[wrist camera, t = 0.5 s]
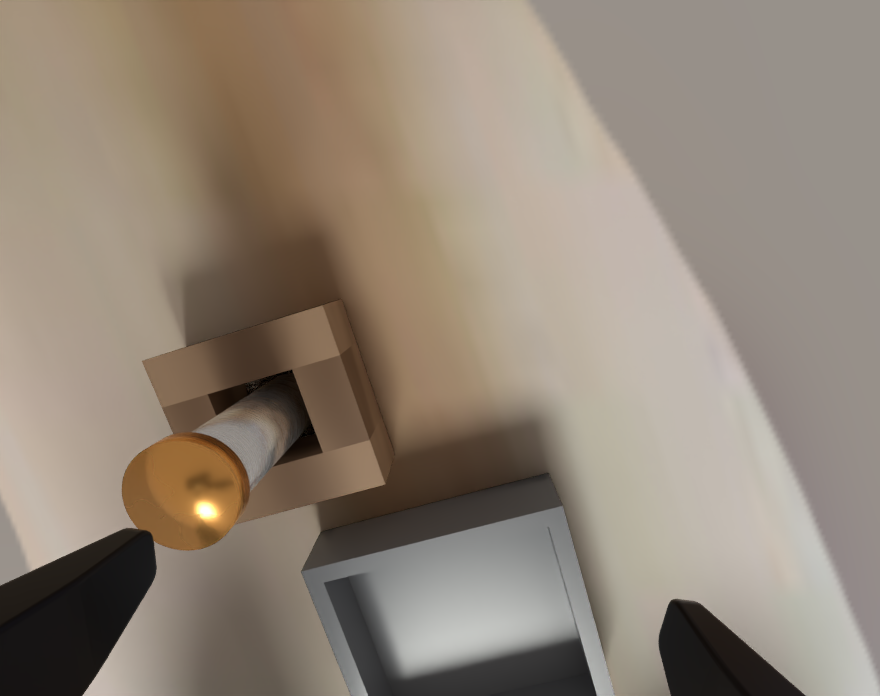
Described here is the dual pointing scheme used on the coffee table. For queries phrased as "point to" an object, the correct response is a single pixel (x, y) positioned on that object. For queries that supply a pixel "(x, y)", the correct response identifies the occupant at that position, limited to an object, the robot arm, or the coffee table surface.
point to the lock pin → (213, 467)
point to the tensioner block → (322, 388)
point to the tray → (460, 599)
